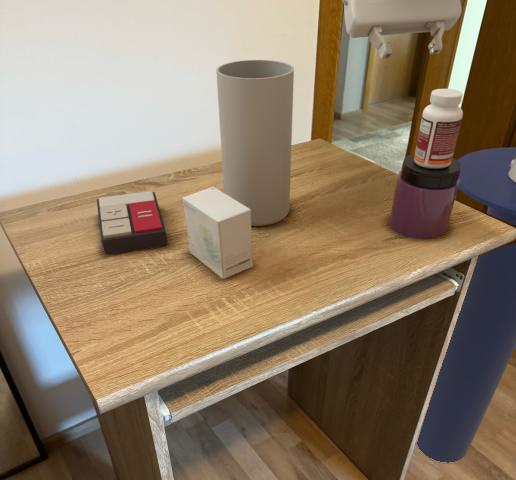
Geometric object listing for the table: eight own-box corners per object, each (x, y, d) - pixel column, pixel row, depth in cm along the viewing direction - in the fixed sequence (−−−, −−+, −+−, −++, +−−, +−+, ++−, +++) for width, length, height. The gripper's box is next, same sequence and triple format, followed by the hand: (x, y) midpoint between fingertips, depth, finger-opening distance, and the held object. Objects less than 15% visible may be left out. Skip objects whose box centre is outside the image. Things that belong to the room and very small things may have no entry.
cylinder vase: (266, 193, 101) (266, 56, 85) (301, 216, 94) (309, 71, 77) (213, 208, 97) (202, 66, 80) (246, 234, 89) (241, 83, 72)
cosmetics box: (187, 253, 84) (180, 196, 77) (218, 241, 87) (214, 185, 80) (221, 280, 78) (217, 220, 71) (254, 266, 80) (252, 207, 73)
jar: (424, 208, 96) (437, 151, 88) (458, 232, 88) (476, 173, 81) (378, 217, 93) (388, 160, 86) (410, 243, 86) (423, 183, 78)
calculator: (99, 236, 81) (95, 194, 91) (105, 258, 84) (100, 215, 94) (165, 226, 83) (153, 187, 94) (168, 248, 86) (157, 207, 97)
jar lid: (435, 162, 89) (438, 149, 87) (469, 183, 82) (473, 169, 81) (390, 170, 87) (392, 157, 85) (421, 192, 80) (424, 177, 78)
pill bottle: (455, 160, 84) (473, 90, 76) (444, 173, 80) (462, 100, 72) (419, 153, 86) (434, 85, 79) (407, 165, 82) (421, 94, 75)
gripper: (344, -37, 78) (362, 46, 77) (457, -42, 82) (475, 36, 81) (331, -6, 84) (348, 71, 84) (436, -12, 88) (453, 61, 87)
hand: (411, 54), depth 82 cm, fingers open, 8 cm apart
